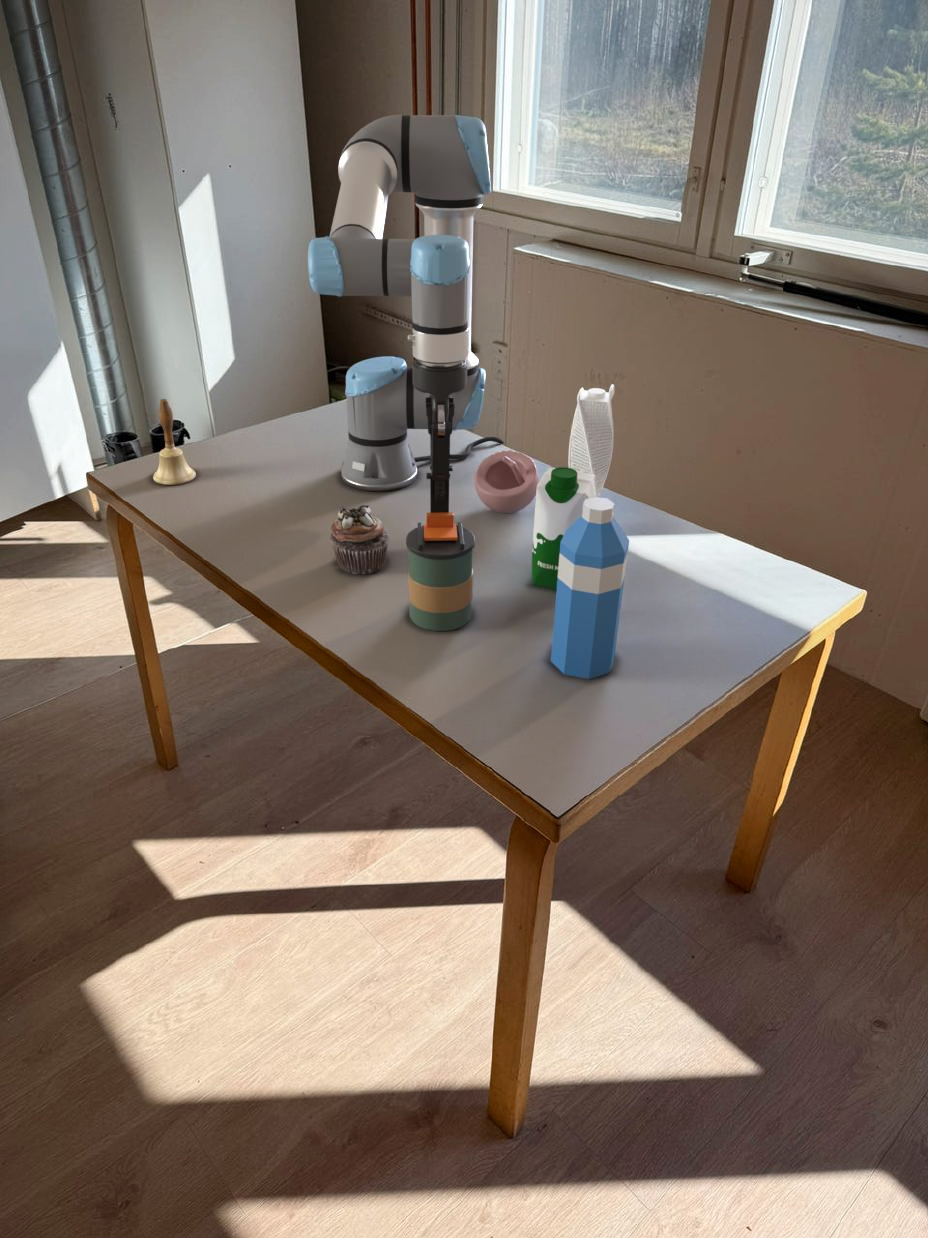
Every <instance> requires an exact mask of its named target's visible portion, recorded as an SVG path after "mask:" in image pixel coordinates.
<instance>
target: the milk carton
mask: <svg viewBox="0 0 928 1238" xmlns="http://www.w3.org/2000/svg"><path fill="white" fill-rule="evenodd" d="M594 479H595V474H590V473H583V472H577V471H575V470H574V469H571V468H569V467H565V466H562V467H548V469H547V470H546V472H544V473H543V474H542V477H541V479H539V483H538V485H537V491H536V495H535V505H534V517H533V518H534V519H533V533H532V534H533V536H532V550H531V575H532V578H531V579H532V580H531V582H532V586H536V587H542V588H548V589H552V590H557V579H558V567H559V555H560V543H561V540H562V538H563V536H564V534H565V532H566V530H567V529H568V528H569V527H570V526H571V525H572V524H573V523H574V522H575V521H576V520H577V519H578V518H579V517H580V516H581V515H582V512H583V504H584V501H585V499H588V498H593V497H594Z"/></svg>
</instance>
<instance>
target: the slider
mask: <svg viewBox="0 0 928 1238" xmlns="http://www.w3.org/2000/svg"><path fill="white" fill-rule="evenodd" d="M425 517H426V524H425V523H423V525H424V539H425V541H448V540H457V530H456V525H457V523H454V517H455V515H454V512H453V511H452V512H450V511H449V512H440V513H430V512H426V516H425Z"/></svg>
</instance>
